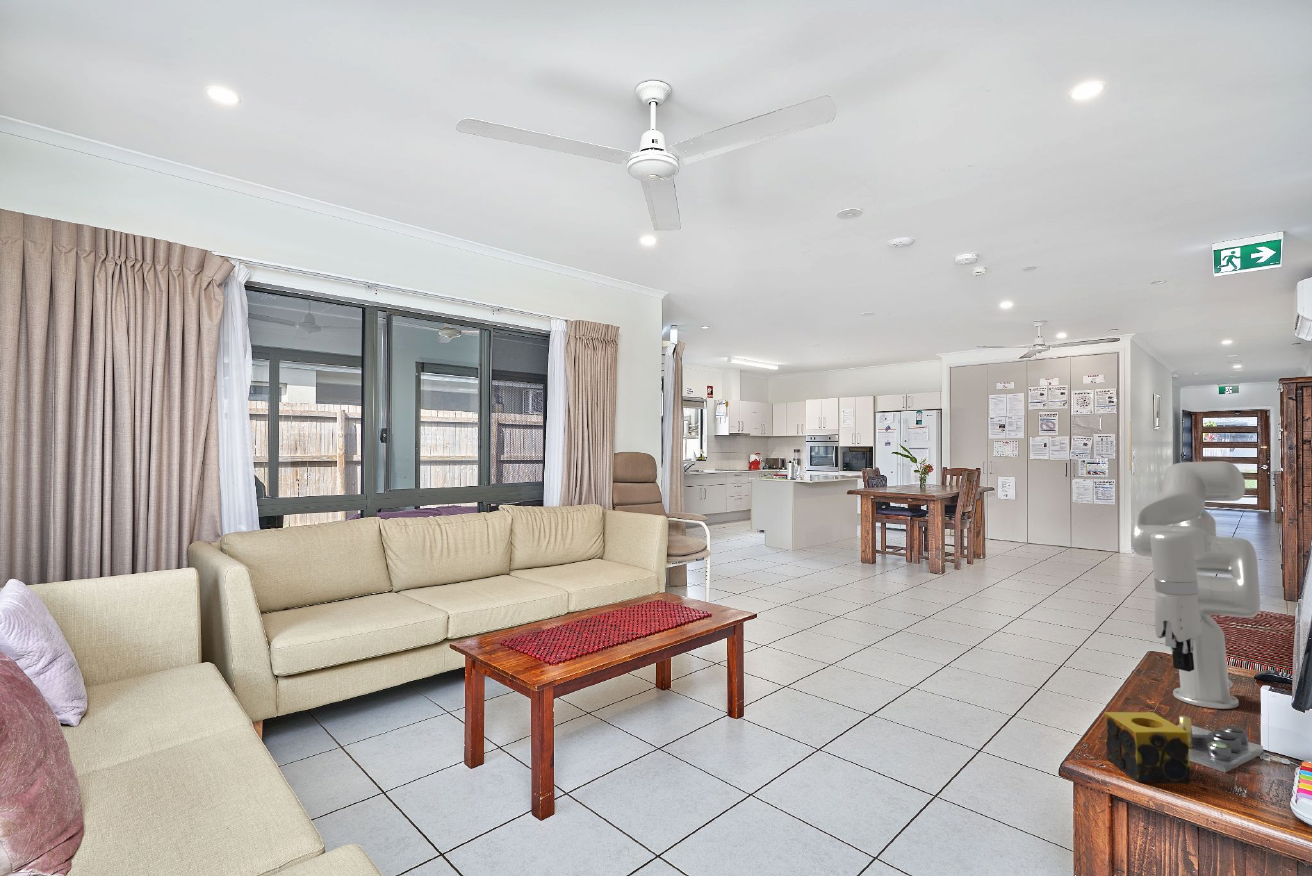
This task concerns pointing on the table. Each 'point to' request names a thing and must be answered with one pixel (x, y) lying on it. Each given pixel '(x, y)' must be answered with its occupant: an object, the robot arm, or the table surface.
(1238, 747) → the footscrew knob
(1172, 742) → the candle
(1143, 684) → the table surface
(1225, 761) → the plate
